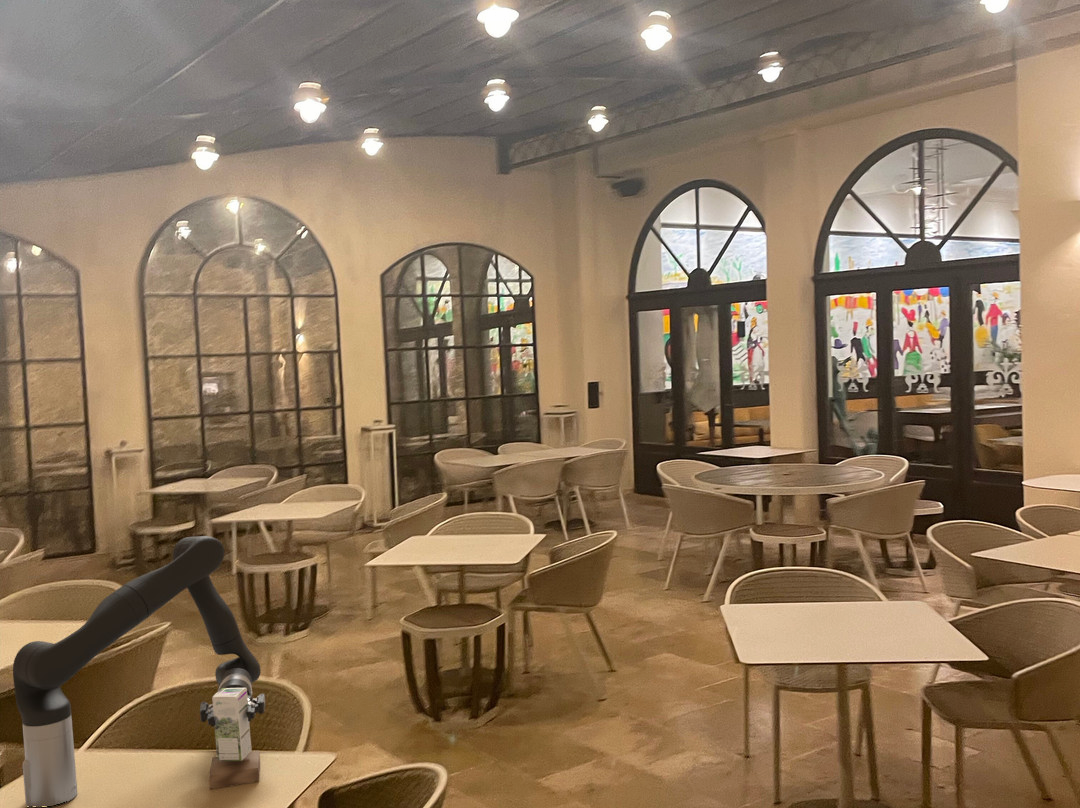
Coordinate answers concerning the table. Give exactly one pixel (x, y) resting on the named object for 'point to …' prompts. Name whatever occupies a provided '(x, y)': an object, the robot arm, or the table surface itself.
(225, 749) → the syrup box
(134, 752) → the table surface
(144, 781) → the table surface
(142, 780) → the table surface
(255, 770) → the brown box
